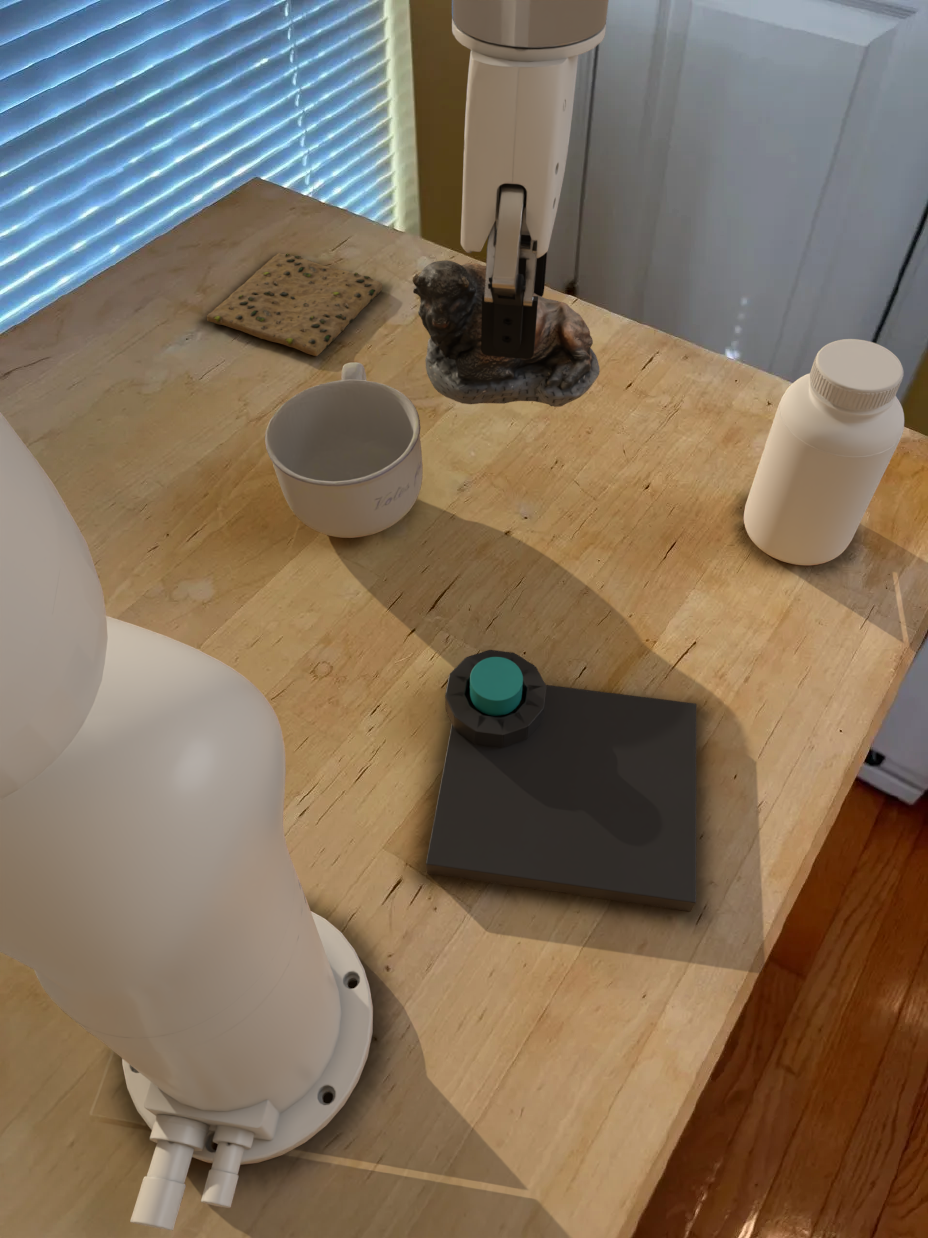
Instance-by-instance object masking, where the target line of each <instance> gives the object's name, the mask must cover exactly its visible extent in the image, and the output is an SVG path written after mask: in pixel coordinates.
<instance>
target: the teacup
mask: <svg viewBox="0 0 928 1238" xmlns="http://www.w3.org/2000/svg"><path fill="white" fill-rule="evenodd" d="M421 428H422V427H421V419H420V415H419V412H418V410H417V408H416V406H415V404H414V403H413V402H412V400H411V399H409V397H407V395H405V394H404V393H402V392H401V391H399V390H398V389H396V388H394V387H392V386H390V385H387V384H384V383H381V382H377V381H373V380H372V381H371V380H367V374H366V369H365V367H364V364H362V363H361V362H353V361H352V362H347V363H345V364H343V366H342V369H341V379H339V380H332V381H328V382H324V383H320V384H317V385H314V386H311V387H308V388H307V389H304V390H302V391H300V392H298V393H296V394H295V395H293V396H292V397H290V398H289V399H288V400H286V401H285V402H284V403H283V404H281V406H280V407H279V408H277V409H276V411H275V412H274V414H273V415H272V417H271V418H270V420H269V422H268V424H267V427H266V429H265V433H264V442H265V443H264V444H265V450H266V453H267V455H268V457H269V460H271V462H272V465H273V469H274V472H275V475H276V478H277V481H278V484H279V486H280V489H281V492H282V494H283V497H284V499H285V501H286V503H287V505H288V507H289V508H290V510H291V512H292V513H293V515H295V516H296V518H297V519H298V520H299V521H301V522H302V523H303V524H304V525H305V526H307V527H308V528H310V529H312V530H313V531H315V532H317V533H321V534H322V535H326V536H329V537H334V538H345V539H347V538H349V539H351V538H352V539H353V538H354V539H355V538H362V537H367V536H372V535H374V534H378V533H380V532H383V531H385V530H387V529H389V528H391V527H392V526H394V525H396V524H397V523H398V522H400V521H401V520H402V519H403V518H404V517H405V516H406V515H407V514H408V513H409V512H410V511H411V509H412V508H413V506H414V505H415V504H416V502H417V500H418V497H419V495H420V492H421V489H422V483H423V472H424V471H423V468H424V467H423V453H422V443H421V442H422V441H421Z"/></svg>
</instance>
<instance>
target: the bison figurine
mask: <svg viewBox="0 0 928 1238" xmlns="http://www.w3.org/2000/svg"><path fill="white" fill-rule="evenodd" d="M485 277H486V265H482V264H480V263H477V262H476V263H475V262H474V263H471V262H465V263H463V264H459V263H458V262H455V261H452V260H446V259H445V260H439V261H438V260H437V261H432V262H430V263H429V264H428V265H426V266H424V267H423V268H422V270H421V272H420V273H419V274H417V273H414V274H413V276H412V283H413V285H414V287H413V291H412V292H413V294H415V295H417V296H418V297H419V299H420V300H419V301H420V305H419V308H418V312H417V313H418V316H419V317H420V320H421V323H422V325H423V327H424V328H425V330H426V331H427V332H428V334H429V338H428V340H427V345H426V346H427V348H426V356H425V361H424V362H425V371H426V375H427V377H428V379H429V380H430V383H431V385H432V386H433V388H434V389H435V390H436V391H437V392H438V393H439V394H440V395H442V396H443V397H445V398H448V399H450V400H452V401H455V402H457V403H460V404H463V405H478V404H499V405H500V404H501V405H502V404H503V405H505V404H508V403H514V402H535V403H541V404H544V405H547V406H550V407H554V408H557V407H558V408H559V407H563V406H565V405H566V404H569V403H571V402H573V401H575V400H577V399H579V398H581V397H582V396H583V395H585V394H586V393H587V392H588V391H589V390H590V388H591V387H592V386H593V384H594V383H595V382H596V380H597V379H598V377H599V375H600V372H601V371H600V364H599V363H600V362H599V360H598V357H597V355H596V353H595V352H594V350H593V349H592V348H591V347H592V345H593V344H594V340H593V337H592V336H591V330H590V328H589V327H588V325H587V323H586V322H585V320H584V318H583V317H582V315H580V314H579V312H576V311H575V310H574V309H573V308H572V307H570V305H569V304H568V303H566V302H564V301H559V300H557V299H550V298H546V297H543V296H542V297H541V296H539V295H537V294H535V293H534V296H538V307H537V321H536V335H535V348H534V355H533V357H532V358H530V359H521V358H510V357H499V356H488V355H484V354H483V353H482V351H481V324H482V295H483V292H485Z"/></svg>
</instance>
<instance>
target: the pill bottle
mask: <svg viewBox="0 0 928 1238" xmlns="http://www.w3.org/2000/svg"><path fill="white" fill-rule="evenodd" d="M903 379H904V367H903V364H902V363H901V361H900V359H899V358H898V356H896V354H894V353H893V352H892V351H891V350H889V349H888V348H886V347H885V346H882V345H880V344H878V343H876V342H872V341H869V340H864V339H858V338H845V339H838V340H835V341H832V342H829V343H827V344H826V345H824V346H822V347H821V349H819V350H818V352H817V353H816V355H815V357H814V360H813V363H812V366H811V369H810V372H809V373H806V374H805V375H802V376H801V377H799V378H798V379H796V380H794V382H793V383H792V384H790V385H789V386H788V388H786V390H785V391H784V393H783V394H782V396H781V398H780V400H779V403H778V406H777V408H776V411H775V414H774V417H773V419H772V424H771V427H770V429H769V433H768V435H767V439H766V441H765V445H764V447H763V451H762V454H761V457H760V460H759V462H758V466H757V469H756V471H755V474H754V478H753V481H752V484H751V487H750V490H749V493H748V496H747V499H746V502H745V505H744V512H743V525H744V527H745V531H746V533H747V535H748V537H749V538H750V540H751V541H752V543H753V544H754V545H755V546H756V547H757V548H759V550H761V551H762V552H763V553H765V554H766V555H768V556H770V557H771V558H774V559H776V560H777V561H780V562H784V563H788V564H792V565H797V566H816V565H823V564H825V563H828V562H830V561H833V560H834V559H837V558H838V557H839V556H841V555H842V553H844V551H845V550H847V548H848V547H849V545H850V543H851V542H852V540H853V538H854V536H855V534H856V532H857V530H858V528H859V527H860V524H861V523H862V520H863V518H864V516H865V514H866V511H867V509H868V507H869V505H870V504H871V501H872V499H873V497H874V495H875V493H876V491H877V489H878V487H879V485H880V482H881V480H882V479H883V477H884V475H885V472H886V471H887V468H888V466H889V464H890V462H891V460H892V458H893V456H894V454H895V452H896V450H897V447H898V445H899V444H900V441H901V440H902V439H901V438H902V437H903V434H904V430H905V413H904V409H903V406H902V404H901V402H900V400H899V399H898V397H897V393H898V390H899V389H900V386H901V383H902V381H903Z"/></svg>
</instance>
